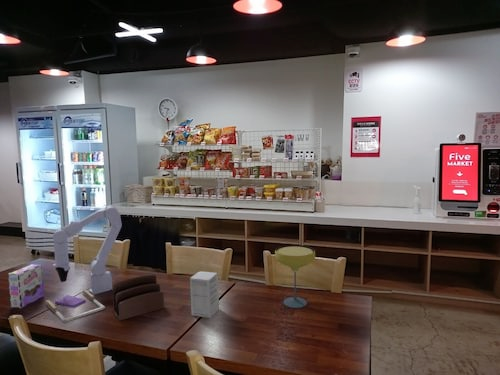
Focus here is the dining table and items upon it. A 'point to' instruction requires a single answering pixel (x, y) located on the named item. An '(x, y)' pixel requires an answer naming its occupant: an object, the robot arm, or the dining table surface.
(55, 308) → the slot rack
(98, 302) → the frame
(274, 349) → the dining table surface
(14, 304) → the candy box
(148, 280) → the letter holder
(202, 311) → the supplement box
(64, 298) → the sponges
